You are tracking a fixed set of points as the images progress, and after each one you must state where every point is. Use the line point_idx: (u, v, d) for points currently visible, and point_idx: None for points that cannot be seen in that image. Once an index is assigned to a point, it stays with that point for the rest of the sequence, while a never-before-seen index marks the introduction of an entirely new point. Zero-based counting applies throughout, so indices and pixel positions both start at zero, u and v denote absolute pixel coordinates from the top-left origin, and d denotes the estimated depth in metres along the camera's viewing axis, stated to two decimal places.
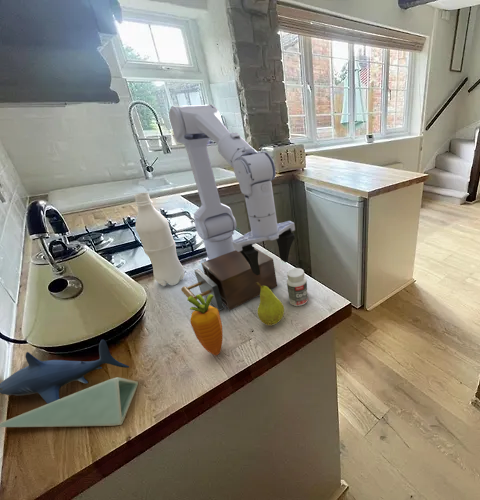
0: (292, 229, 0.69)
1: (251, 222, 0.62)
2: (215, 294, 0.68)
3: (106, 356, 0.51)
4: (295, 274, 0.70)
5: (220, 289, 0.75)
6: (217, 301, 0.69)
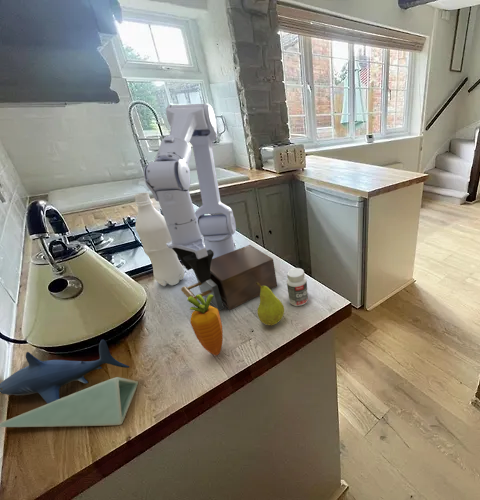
0: (196, 256, 0.60)
1: None
2: (215, 294, 0.68)
3: (106, 356, 0.51)
4: (295, 274, 0.70)
5: (220, 289, 0.75)
6: (217, 301, 0.69)
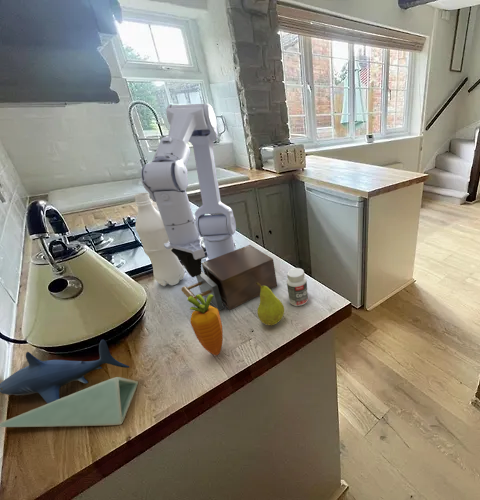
0: (193, 256, 0.60)
1: None
2: (215, 294, 0.68)
3: (106, 356, 0.51)
4: (295, 274, 0.70)
5: (220, 289, 0.75)
6: (217, 301, 0.69)
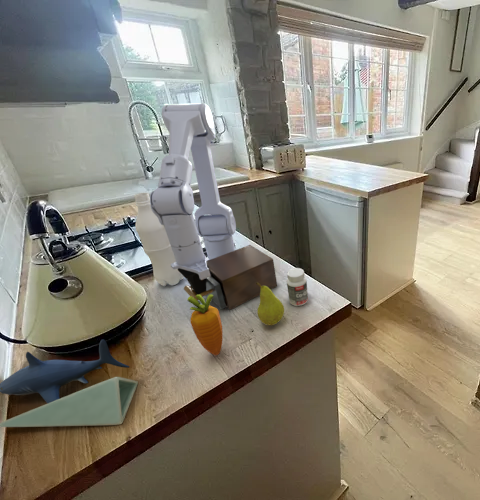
0: (199, 277, 0.62)
1: None
2: (218, 293, 0.68)
3: (106, 356, 0.51)
4: (295, 274, 0.70)
5: (222, 288, 0.76)
6: (219, 300, 0.69)
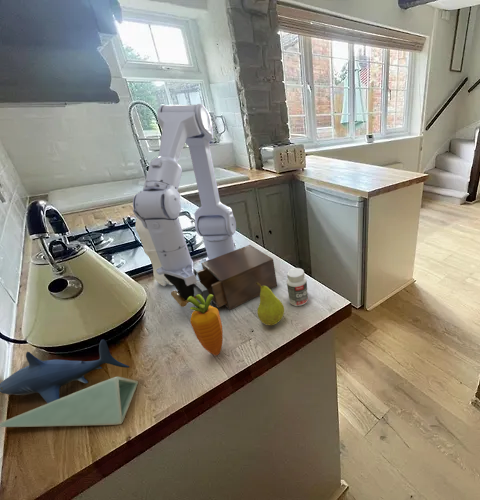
0: (185, 282, 0.60)
1: None
2: (205, 298, 0.66)
3: (106, 356, 0.51)
4: (295, 274, 0.70)
5: (211, 293, 0.74)
6: None
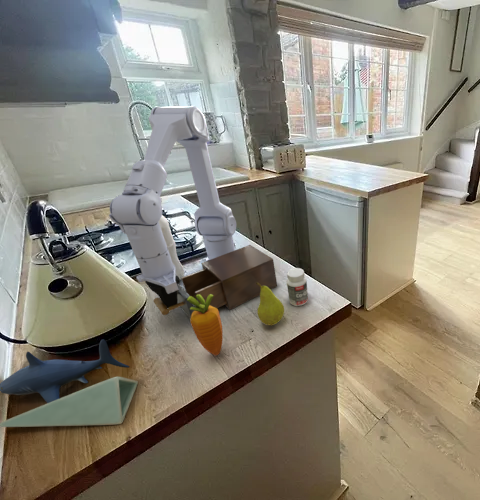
0: (166, 290, 0.58)
1: None
2: (188, 306, 0.64)
3: (106, 356, 0.51)
4: (295, 274, 0.70)
5: None
6: (191, 313, 0.65)
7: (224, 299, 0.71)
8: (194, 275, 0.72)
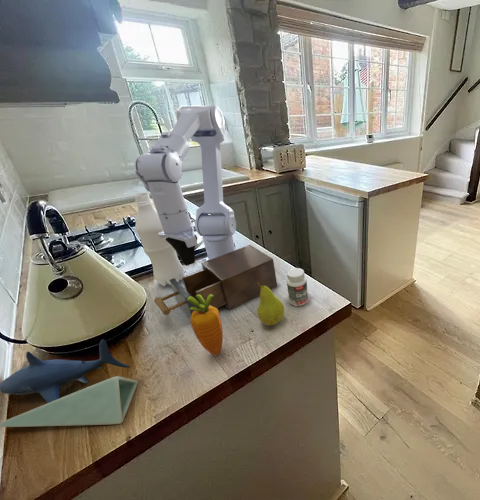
0: (186, 244, 0.63)
1: None
2: (189, 306, 0.64)
3: (106, 356, 0.51)
4: (295, 274, 0.70)
5: (197, 299, 0.72)
6: None
7: (225, 299, 0.71)
8: (195, 275, 0.72)
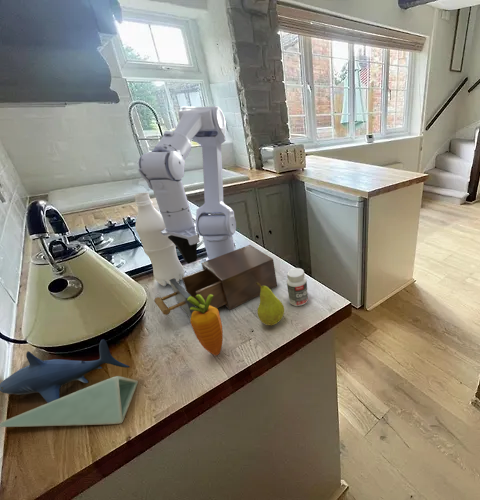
0: (188, 242, 0.63)
1: None
2: (189, 306, 0.64)
3: (106, 356, 0.51)
4: (295, 274, 0.70)
5: (197, 299, 0.72)
6: None
7: (225, 299, 0.71)
8: (195, 275, 0.72)
